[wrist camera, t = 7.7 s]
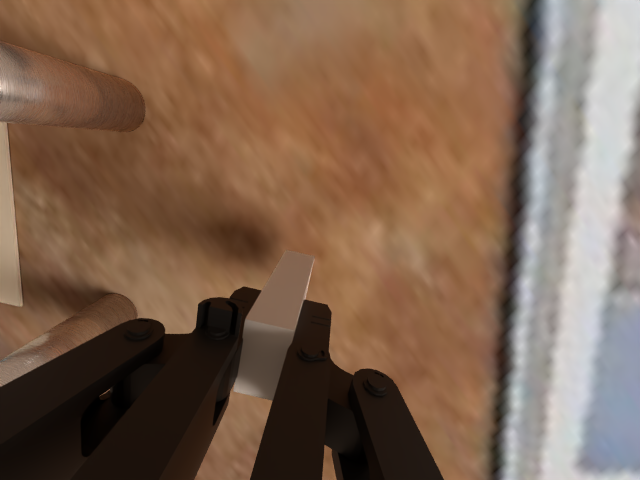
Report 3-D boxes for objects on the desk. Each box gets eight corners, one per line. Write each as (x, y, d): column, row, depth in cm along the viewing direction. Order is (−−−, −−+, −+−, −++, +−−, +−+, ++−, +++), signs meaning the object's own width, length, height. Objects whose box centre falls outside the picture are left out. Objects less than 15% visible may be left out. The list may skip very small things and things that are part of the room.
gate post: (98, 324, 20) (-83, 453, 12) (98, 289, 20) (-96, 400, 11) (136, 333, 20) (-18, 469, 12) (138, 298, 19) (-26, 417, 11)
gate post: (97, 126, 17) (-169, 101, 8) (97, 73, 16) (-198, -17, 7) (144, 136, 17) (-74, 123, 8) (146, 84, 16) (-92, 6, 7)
